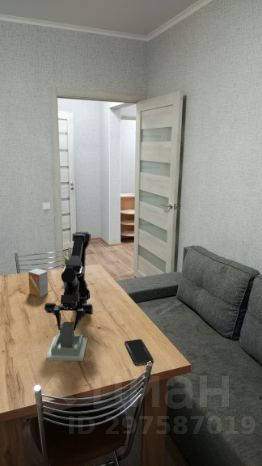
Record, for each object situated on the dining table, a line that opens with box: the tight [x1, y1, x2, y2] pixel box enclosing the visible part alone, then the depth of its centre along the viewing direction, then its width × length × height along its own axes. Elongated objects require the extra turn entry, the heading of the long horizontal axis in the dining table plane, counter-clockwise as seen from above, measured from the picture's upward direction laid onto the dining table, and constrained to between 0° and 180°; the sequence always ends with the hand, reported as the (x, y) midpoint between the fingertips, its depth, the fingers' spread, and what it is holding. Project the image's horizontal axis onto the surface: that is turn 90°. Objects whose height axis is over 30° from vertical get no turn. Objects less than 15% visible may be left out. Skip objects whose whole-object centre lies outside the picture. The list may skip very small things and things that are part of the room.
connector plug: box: [59, 321, 75, 348], centre depth 129 cm, size 5×5×10 cm
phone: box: [123, 338, 154, 366], centre depth 131 cm, size 8×1×15 cm
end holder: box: [45, 333, 88, 362], centre depth 131 cm, size 14×14×4 cm
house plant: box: [59, 253, 72, 269], centre depth 196 cm, size 14×14×16 cm
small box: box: [27, 267, 49, 298], centre depth 177 cm, size 8×6×13 cm
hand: (66, 330), depth 127 cm, fingers open, 6 cm apart
